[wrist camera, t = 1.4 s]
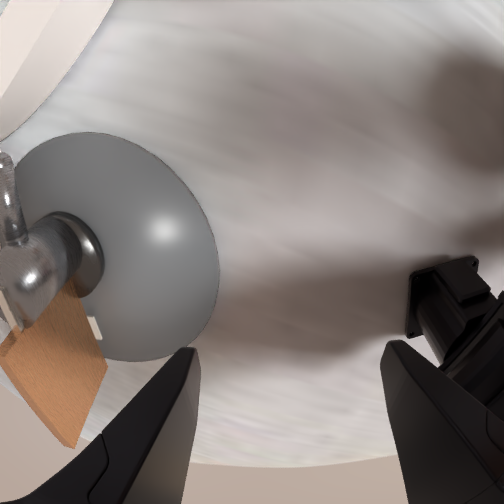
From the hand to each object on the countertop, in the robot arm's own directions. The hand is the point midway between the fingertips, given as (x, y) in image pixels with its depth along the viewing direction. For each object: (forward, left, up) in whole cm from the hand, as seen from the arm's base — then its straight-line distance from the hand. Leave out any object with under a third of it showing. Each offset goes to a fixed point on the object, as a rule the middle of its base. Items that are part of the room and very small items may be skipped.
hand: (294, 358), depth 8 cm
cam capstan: (-1, +15, -11) cm, 19 cm away
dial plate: (-1, +14, -12) cm, 18 cm away
